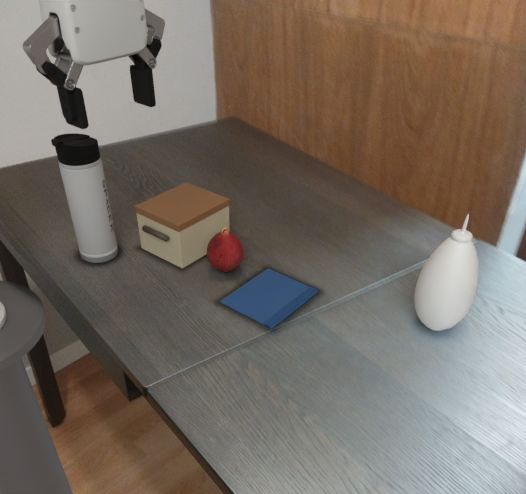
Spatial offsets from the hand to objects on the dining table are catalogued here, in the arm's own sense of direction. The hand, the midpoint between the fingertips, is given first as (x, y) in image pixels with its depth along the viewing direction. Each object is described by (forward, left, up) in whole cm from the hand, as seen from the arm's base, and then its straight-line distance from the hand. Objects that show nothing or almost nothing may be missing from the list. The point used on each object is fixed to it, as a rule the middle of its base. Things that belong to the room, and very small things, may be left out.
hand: (112, 114), depth 61 cm
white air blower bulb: (+25, -35, -28) cm, 52 cm away
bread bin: (+18, +9, -28) cm, 35 cm away
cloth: (+15, -12, -28) cm, 34 cm away
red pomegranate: (+16, -2, -28) cm, 33 cm away
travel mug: (+6, +18, -28) cm, 34 cm away
